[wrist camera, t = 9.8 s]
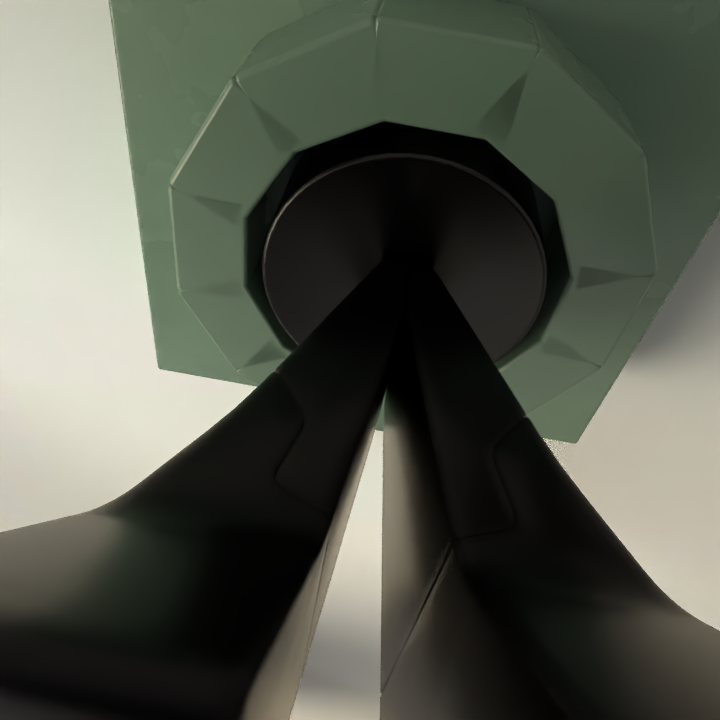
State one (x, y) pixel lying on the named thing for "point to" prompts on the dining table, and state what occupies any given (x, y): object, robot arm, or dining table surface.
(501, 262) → the button
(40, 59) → the dining table surface
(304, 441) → the robot arm
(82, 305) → the dining table surface
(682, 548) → the dining table surface
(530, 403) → the button box
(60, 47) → the dining table surface
